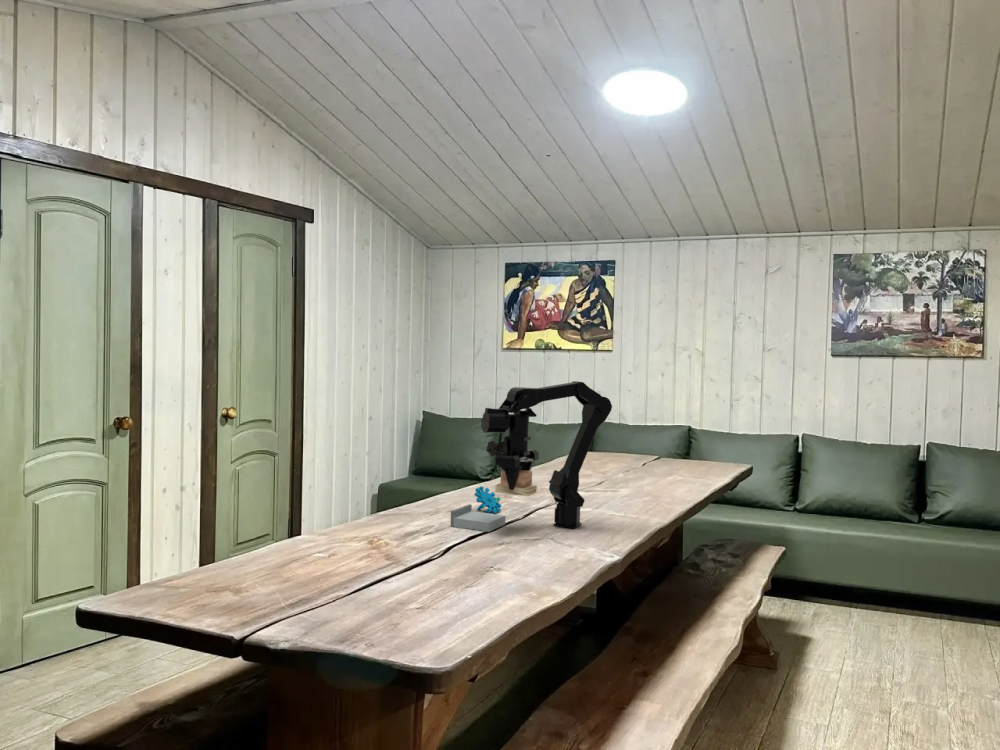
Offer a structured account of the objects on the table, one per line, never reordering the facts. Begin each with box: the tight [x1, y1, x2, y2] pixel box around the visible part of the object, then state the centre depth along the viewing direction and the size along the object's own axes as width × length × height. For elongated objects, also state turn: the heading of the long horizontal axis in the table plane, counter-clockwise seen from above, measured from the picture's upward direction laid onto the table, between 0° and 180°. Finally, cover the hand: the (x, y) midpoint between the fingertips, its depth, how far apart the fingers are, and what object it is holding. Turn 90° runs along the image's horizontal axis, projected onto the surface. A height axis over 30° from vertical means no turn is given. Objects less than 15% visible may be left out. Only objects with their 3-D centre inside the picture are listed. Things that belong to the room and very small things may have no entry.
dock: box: [449, 503, 507, 533], centre depth 227 cm, size 12×11×4 cm
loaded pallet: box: [494, 470, 538, 497], centre depth 223 cm, size 10×6×6 cm, turn 66°
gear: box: [474, 485, 502, 514], centre depth 246 cm, size 11×6×10 cm
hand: (516, 488), depth 223 cm, fingers closed on loaded pallet, 6 cm apart
